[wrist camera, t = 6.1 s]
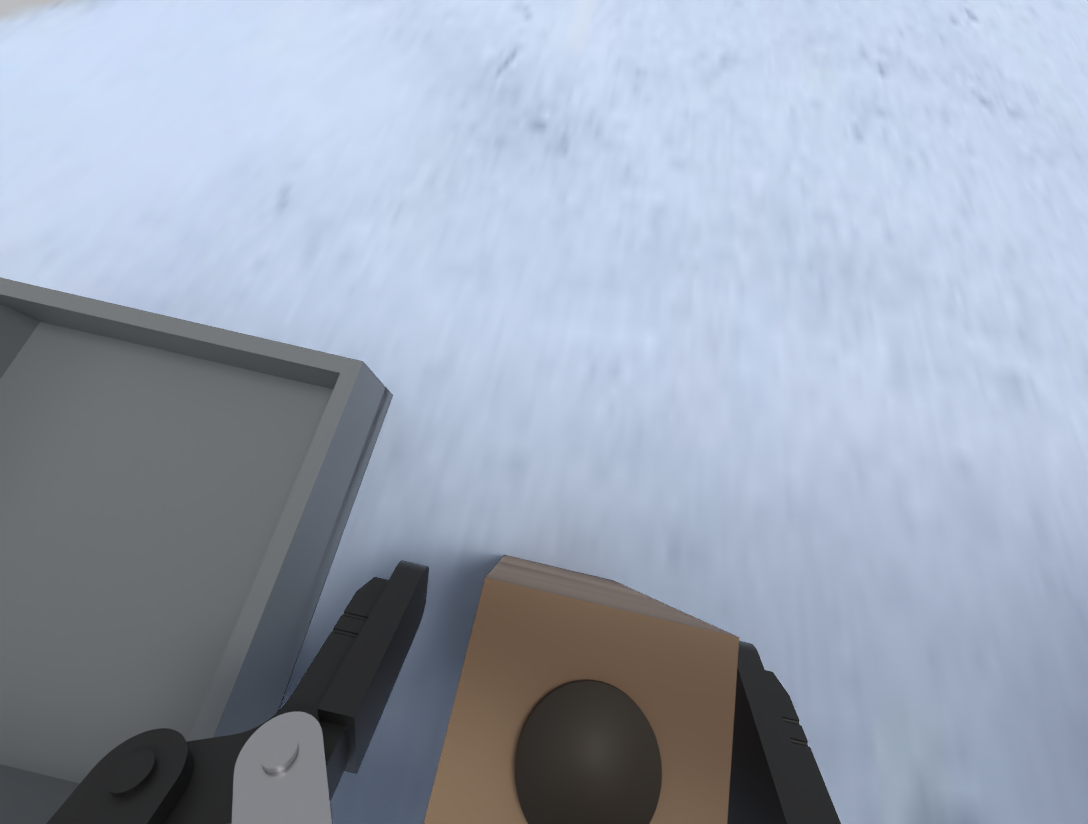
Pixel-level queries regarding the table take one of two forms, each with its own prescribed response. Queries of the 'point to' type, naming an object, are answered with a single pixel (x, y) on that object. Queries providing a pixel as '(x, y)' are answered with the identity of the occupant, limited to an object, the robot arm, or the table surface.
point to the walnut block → (586, 708)
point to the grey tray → (158, 527)
